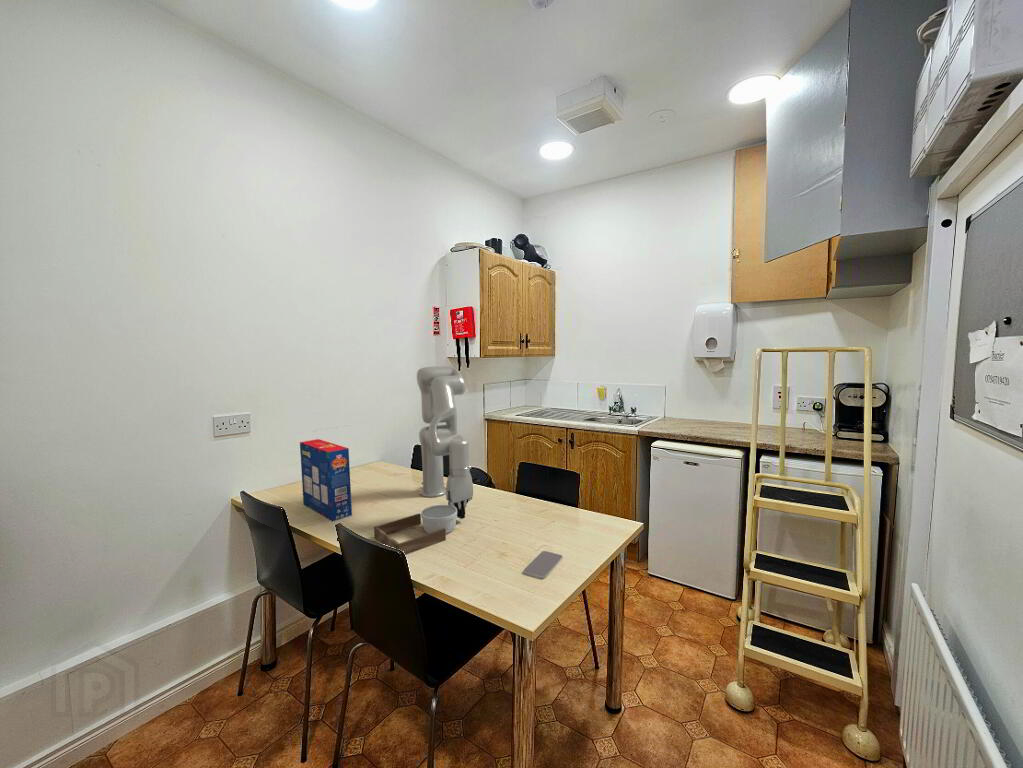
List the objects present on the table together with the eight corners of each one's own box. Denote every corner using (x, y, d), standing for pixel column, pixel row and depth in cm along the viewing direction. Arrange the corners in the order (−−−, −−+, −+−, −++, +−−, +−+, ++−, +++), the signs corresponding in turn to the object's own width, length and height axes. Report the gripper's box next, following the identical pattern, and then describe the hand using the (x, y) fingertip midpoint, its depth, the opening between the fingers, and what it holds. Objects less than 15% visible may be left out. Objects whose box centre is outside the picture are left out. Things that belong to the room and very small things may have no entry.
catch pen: (374, 537, 148) (374, 526, 148) (419, 523, 160) (419, 513, 159) (398, 557, 134) (397, 545, 133) (445, 539, 145) (445, 529, 145)
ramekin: (441, 518, 164) (441, 501, 163) (465, 527, 155) (464, 509, 155) (414, 530, 153) (413, 512, 153) (438, 540, 145) (437, 521, 144)
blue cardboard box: (351, 515, 169) (348, 448, 166) (332, 521, 163) (328, 452, 160) (321, 499, 187) (318, 439, 185) (303, 504, 181) (299, 442, 179)
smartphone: (563, 555, 132) (544, 577, 119) (563, 558, 132) (544, 580, 119) (542, 550, 136) (521, 571, 123) (542, 552, 136) (521, 574, 123)
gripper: (469, 465, 167) (470, 509, 168) (437, 473, 157) (439, 520, 158) (480, 469, 161) (482, 514, 163) (448, 477, 151) (450, 526, 153)
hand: (460, 517), depth 161 cm, fingers closed
